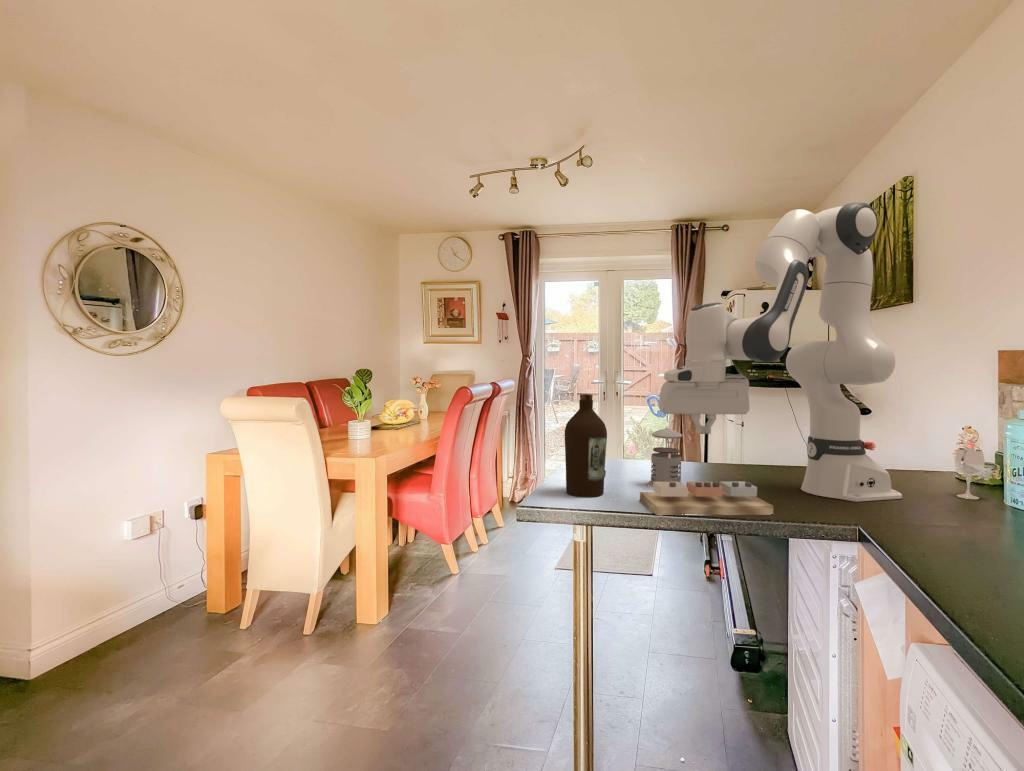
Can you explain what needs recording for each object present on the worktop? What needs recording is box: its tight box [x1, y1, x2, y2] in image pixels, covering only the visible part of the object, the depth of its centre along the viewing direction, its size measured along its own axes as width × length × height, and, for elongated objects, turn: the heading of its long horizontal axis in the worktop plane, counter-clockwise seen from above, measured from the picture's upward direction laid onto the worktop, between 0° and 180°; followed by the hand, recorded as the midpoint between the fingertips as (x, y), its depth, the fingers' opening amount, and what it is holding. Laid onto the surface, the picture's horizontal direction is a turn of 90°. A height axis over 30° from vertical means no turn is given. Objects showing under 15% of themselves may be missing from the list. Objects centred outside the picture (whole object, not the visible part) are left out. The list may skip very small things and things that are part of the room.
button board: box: [639, 491, 774, 517], centre depth 128 cm, size 26×13×2 cm, turn 93°
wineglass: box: [954, 447, 986, 500], centre depth 139 cm, size 6×6×12 cm
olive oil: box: [564, 393, 608, 498], centre depth 140 cm, size 11×11×25 cm
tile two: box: [719, 480, 758, 497], centre depth 128 cm, size 6×6×3 cm
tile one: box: [652, 482, 689, 497], centre depth 127 cm, size 6×6×3 cm
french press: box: [647, 414, 684, 488], centre depth 150 cm, size 10×12×25 cm
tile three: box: [685, 481, 723, 496], centre depth 128 cm, size 6×6×3 cm
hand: (703, 433), depth 128 cm, fingers closed
